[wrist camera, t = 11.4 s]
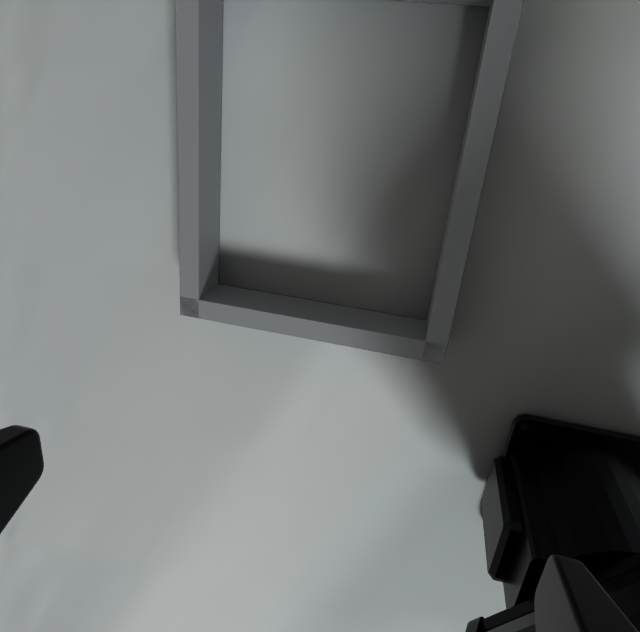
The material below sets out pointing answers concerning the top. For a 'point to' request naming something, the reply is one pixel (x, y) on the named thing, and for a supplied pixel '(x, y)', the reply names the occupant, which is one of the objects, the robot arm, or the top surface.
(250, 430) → the top surface
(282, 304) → the bin
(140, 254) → the top surface
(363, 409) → the top surface
